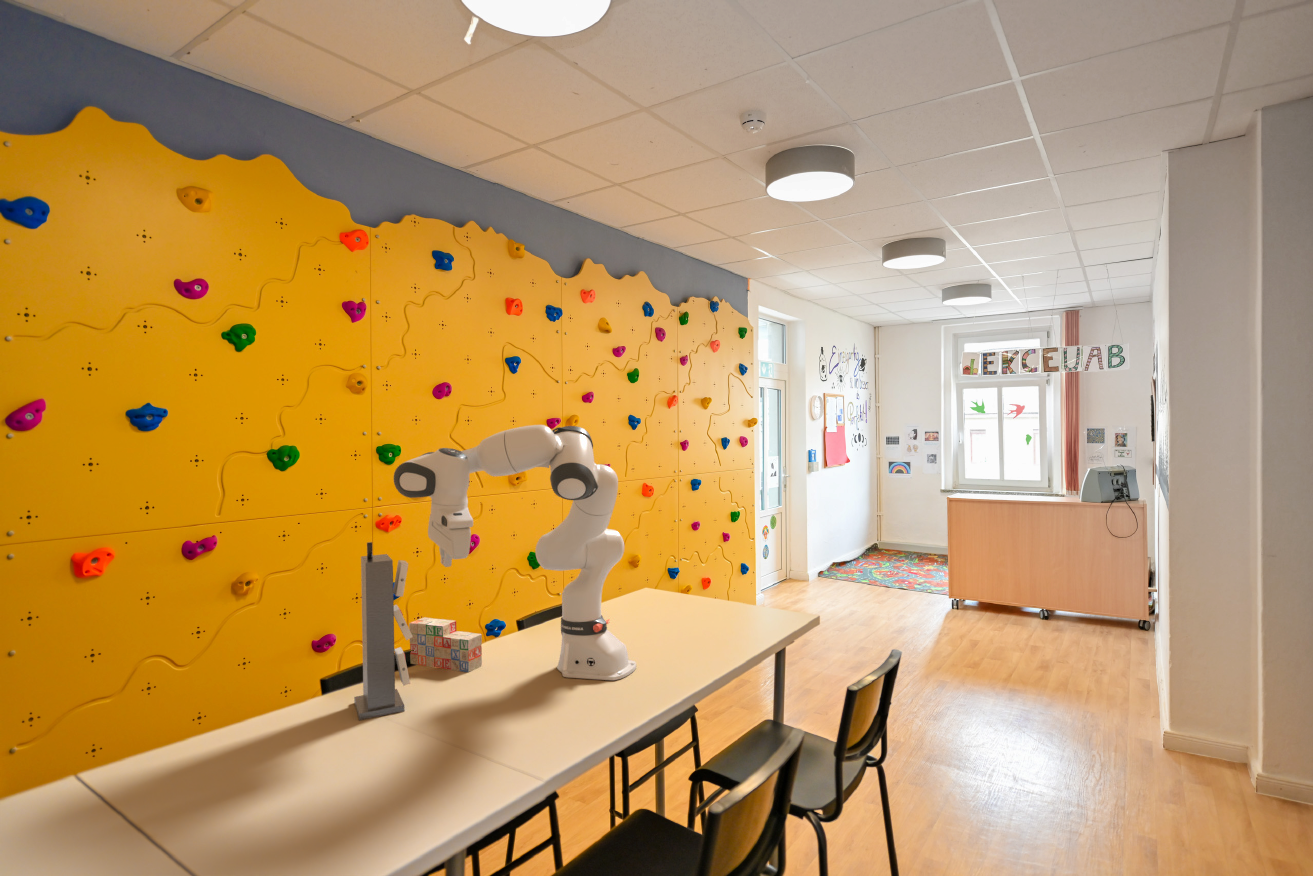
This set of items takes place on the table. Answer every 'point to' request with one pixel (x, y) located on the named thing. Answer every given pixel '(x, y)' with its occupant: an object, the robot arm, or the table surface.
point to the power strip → (377, 639)
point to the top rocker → (400, 578)
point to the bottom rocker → (402, 666)
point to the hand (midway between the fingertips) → (445, 565)
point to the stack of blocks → (444, 645)
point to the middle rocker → (402, 622)
